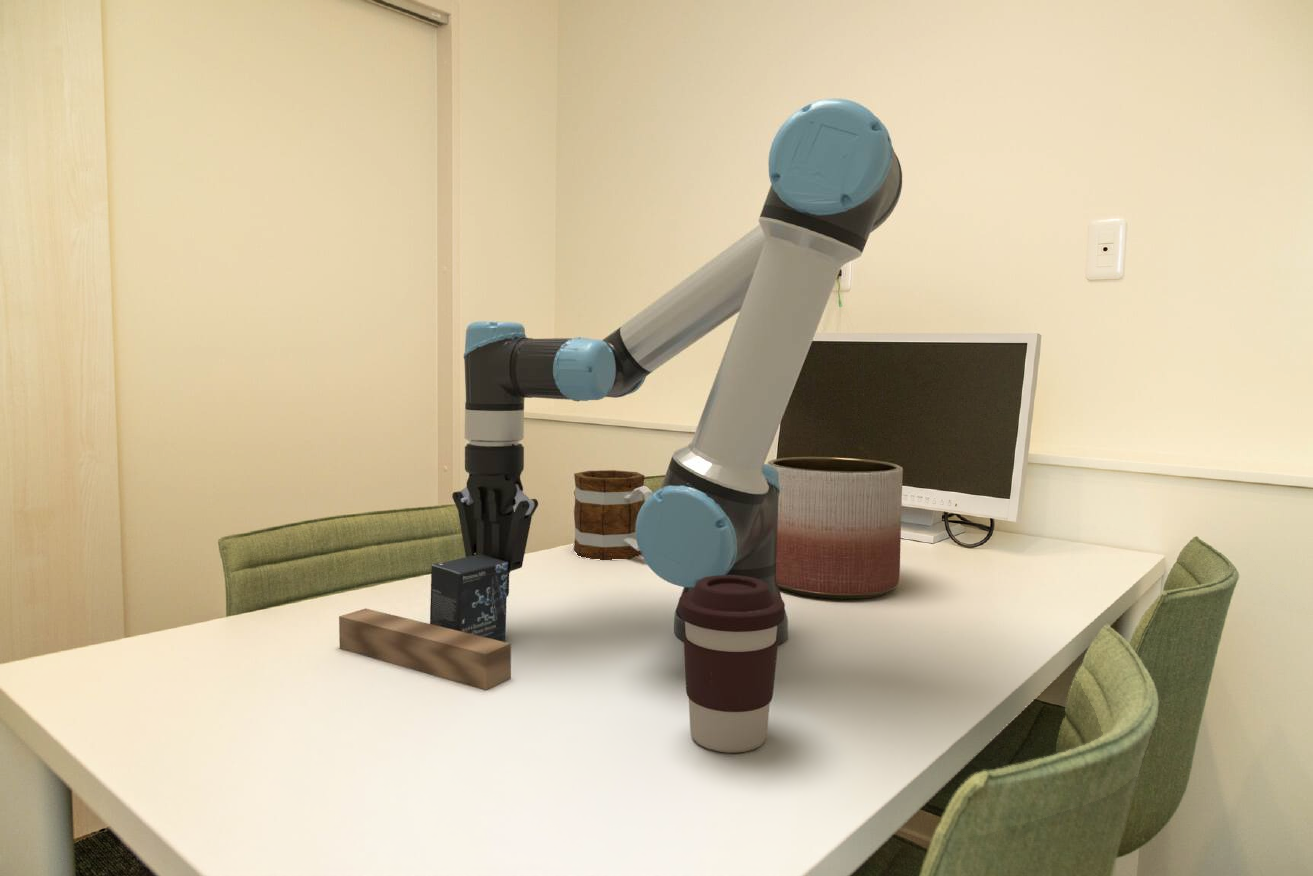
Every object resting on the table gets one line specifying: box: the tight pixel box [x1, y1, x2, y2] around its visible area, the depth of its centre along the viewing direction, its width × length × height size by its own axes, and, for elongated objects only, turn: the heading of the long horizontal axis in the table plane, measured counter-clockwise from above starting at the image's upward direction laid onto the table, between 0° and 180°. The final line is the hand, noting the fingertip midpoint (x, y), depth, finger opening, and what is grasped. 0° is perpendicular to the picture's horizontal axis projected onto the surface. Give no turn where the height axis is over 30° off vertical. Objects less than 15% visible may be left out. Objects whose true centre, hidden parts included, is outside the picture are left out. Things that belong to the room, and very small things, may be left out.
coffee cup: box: [678, 575, 786, 754], centre depth 76 cm, size 10×10×15 cm
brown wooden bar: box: [338, 607, 512, 691], centre depth 95 cm, size 24×4×4 cm, turn 59°
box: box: [429, 554, 508, 642], centre depth 100 cm, size 8×6×11 cm
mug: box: [573, 469, 654, 561], centre depth 151 cm, size 20×14×15 cm
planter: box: [766, 456, 904, 600], centre depth 133 cm, size 22×22×20 cm
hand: (493, 620), depth 106 cm, fingers closed
